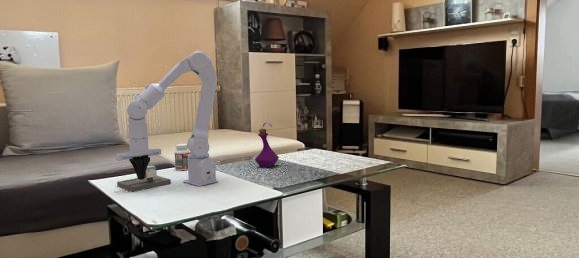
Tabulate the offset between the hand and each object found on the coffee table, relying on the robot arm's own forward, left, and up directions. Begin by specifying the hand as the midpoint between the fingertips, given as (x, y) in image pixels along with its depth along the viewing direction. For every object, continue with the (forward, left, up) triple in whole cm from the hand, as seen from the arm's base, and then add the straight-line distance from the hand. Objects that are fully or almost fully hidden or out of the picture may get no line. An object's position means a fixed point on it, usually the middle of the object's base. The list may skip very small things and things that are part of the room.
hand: (140, 179), depth 137 cm
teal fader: (+7, -6, -1) cm, 9 cm away
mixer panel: (+3, -2, -3) cm, 4 cm away
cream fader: (0, -3, -1) cm, 3 cm away
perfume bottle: (-7, -50, -3) cm, 50 cm away
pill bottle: (+15, -25, -3) cm, 29 cm away
